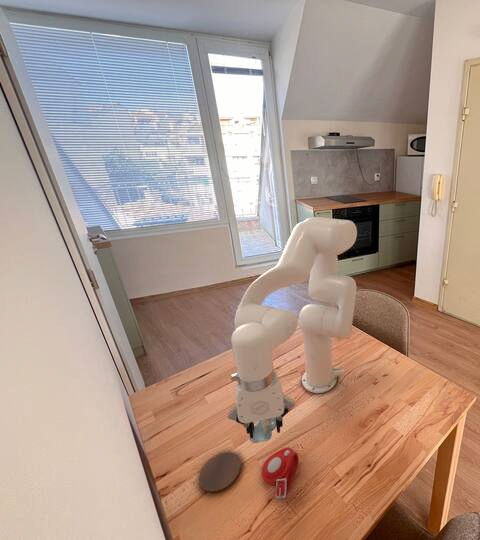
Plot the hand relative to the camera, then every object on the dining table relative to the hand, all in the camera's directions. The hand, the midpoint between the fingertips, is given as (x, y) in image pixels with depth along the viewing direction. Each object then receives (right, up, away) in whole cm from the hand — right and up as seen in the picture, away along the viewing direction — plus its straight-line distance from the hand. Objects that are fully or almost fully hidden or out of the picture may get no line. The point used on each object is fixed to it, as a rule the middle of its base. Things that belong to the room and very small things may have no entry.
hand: (265, 429), depth 73 cm
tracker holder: (+2, -15, +5) cm, 16 cm away
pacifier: (-1, -1, 0) cm, 1 cm away
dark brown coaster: (-14, -14, +5) cm, 20 cm away
